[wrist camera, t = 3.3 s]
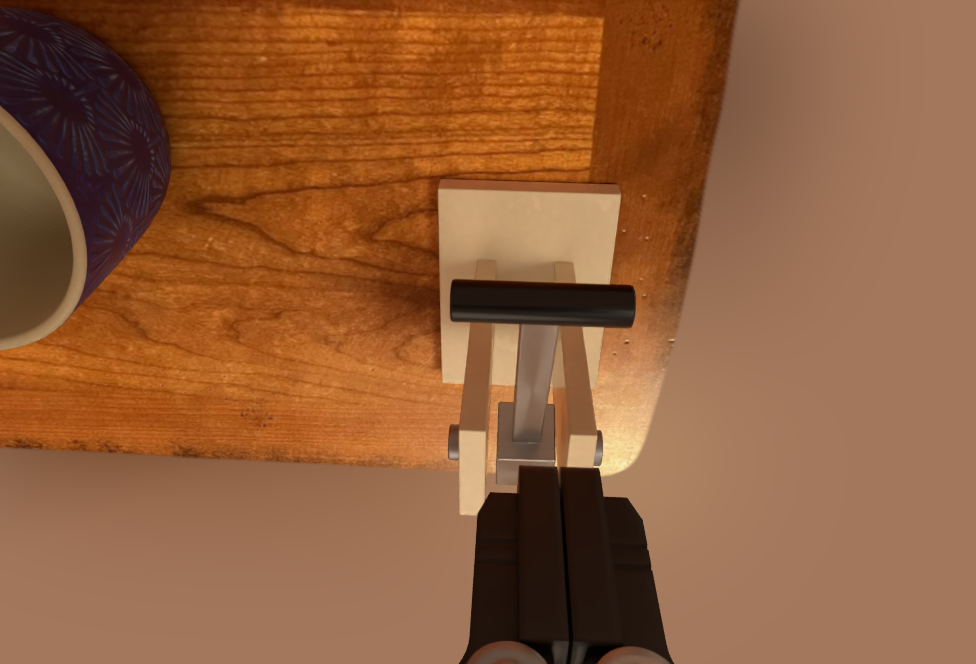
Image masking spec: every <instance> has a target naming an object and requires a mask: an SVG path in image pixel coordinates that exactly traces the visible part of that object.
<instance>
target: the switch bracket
mask: <svg viewBox="0 0 976 664" xmlns="http://www.w3.org/2000/svg"><path fill="white" fill-rule="evenodd" d="M620 201H621V193H620V190H619V187H618V185H614V184H583V183H552V182H521V181H490V180H459V179H441V180H440V183H439V187H438V227H439V275H440V322H441V370H442V383H456V384H464V386H463V395H462V404H461V414H460V423H459V425H454V424H451V425H450V428H449V439H448V458H449V460H459V514H460V515H476V516H477V515H478V512H479V510H480V509H481V507H482V505H483V504H484V502H485V494H486V475H487V458H488V440H489V422H490V404H491V386H492V385H507V386H515V376H516V363H517V349H518V335H519V324H491V323H464V322H452V321H451V319H450V288H451V282H452V280H453V279H475V280H503V281H532V282H560V283H588V284H610V278H611V270H612V262H613V255H614V247H615V239H616V232H617V224H618V216H619V209H620ZM603 331H604V328H600V327H573V326H560V329H559V335H558V341H557V348H556V354H555V360H554V366H553V372H552V378H551V384H550V387H552V389H553V404H554V405H555V436H556V452H557V468H558V473H559V468H560V467H585V468H593V466H600V465H601V462H602V456H603V438H602V433H601V431H600V430H597V429H596V421H595V414H594V407H593V400H592V392H591V389H596V385H597V377H598V370H599V362H600V354H601V347H602V339H603Z"/></svg>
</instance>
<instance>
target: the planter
mask: <svg viewBox="0 0 976 664" xmlns="http://www.w3.org/2000/svg"><path fill="white" fill-rule="evenodd" d="M170 173H171V153H170V144H169V138H168V134H167V130H166V127H165V123H164V121H163V118H162V116H161V113H160V111H159V109H158V107H157V105H156V103H155V101H154V99H153V97H152V96H151V94H150V92H149V91H148V89H147V87H146V86H145V85H144V83H143V82H142V81H141V79H140V78H139V76H138V75H137V74H136V73H135V72H134V71H133V69H132V68H131V67H130V66H129V65H128V64H127V63H126V62H125V61H124V60H123V59H122V58H121V57H120V56H119V55H118V54H117V53H116V52H114V51H113V50H112V49H111V48H110V47H108V46H107V45H106V44H104V43H103V42H102V41H100V40H99V39H97V38H96V37H94V36H93V35H91V34H89V33H88V32H86V31H85V30H83V29H81V28H79V27H77V26H75V25H73V24H71V23H69V22H67V21H64V20H62V19H59V18H57V17H54V16H51V15H48V14H44V13H41V12H37V11H32V10H26V9H21V8H13V7H0V350H7V349H12V348H17V347H21V346H24V345H27V344H30V343H33V342H36V341H38V340H40V339H42V338H44V337H46V336H47V335H49V334H50V333H52V332H53V331H55V330H56V329H58V328H59V327H60V326H61V325H62V324H63V323H64V322H65V321H66V320H67V319H68V318H69V317H70V316H71V315H72V314H73V313H74V312H75V310H76V309H77V308H78V307H79V306H80V305H81V304H82V303H83V302H84V301H85V300H86V299H87V298H88V296H89V295H90V294H91V293H92V292H93V291H94V290H95V289H96V288H97V287H98V286H99V285H100V284H101V282H102V281H103V280H104V279H105V278H106V277H107V276H108V275H109V274H110V273H111V272H112V270H113V269H114V268H115V267H116V266H117V265H118V264H119V263H120V262H121V261H122V259H123V258H124V257H125V256H126V255H127V253H128V252H129V251H130V250H131V249H132V247H133V246H134V245H135V244H136V243H137V241H138V240H139V239H140V238H141V237H142V235H143V234H144V233H145V231H146V230H147V228H148V227H149V225H150V224H151V222H152V221H153V219H154V217H155V216H156V214H157V213H158V211H159V209H160V207H161V204H162V202H163V200H164V197H165V195H166V191H167V188H168V184H169V180H170Z"/></svg>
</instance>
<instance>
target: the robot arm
mask: <svg viewBox="0 0 976 664" xmlns="http://www.w3.org/2000/svg"><path fill="white" fill-rule="evenodd" d="M477 516H478V517H477V531H476V547H475V563H474V578H473V593H472V609H471V623H470V637H469V644H468V647H467V650H466V652H465V654H464V656H463V658H462V660H461V661H460V663H459V664H674V663H673V661H672V659H671V657H670V655H669V652H668V648H667V645H666V640H665V635H664V629H663V624H662V619H661V614H660V609H659V603H658V598H657V593H656V588H655V583H654V577H653V572H652V570H651V561H650V556H649V551H648V550H647V541H646V535H645V530H644V525H643V520H642V518H641V517H640V516H639V514H638V513H637V511H636V510H635V508H634V507H633V506H632V504H631V503H630V501H629V500H628V498H621V497H603V490H602V483H601V476H600V471H599V468H585V467H560V468H559V473H558V469H557V467H555V466H530V465H519V469H518V485H517V493H494V492H490V494H489V495H488V497H487V499H486V500H485V502H484V504H483V505H482V507H481V509H480V510H479V512H478V515H477Z"/></svg>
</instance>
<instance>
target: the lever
mask: <svg viewBox="0 0 976 664" xmlns="http://www.w3.org/2000/svg"><path fill="white" fill-rule="evenodd" d="M635 310H636V296H635V290H634V287H633V286H631V285H616V284H588V283H560V282H532V281H503V280H475V279H453V280H452V282H451V288H450V319H451V321H452V322H464V323H491V324H519V335H518V349H517V363H516V376H515V390H514V403H513V402H499V406H498V432H497V458H496V484H498V485H518V469H519V465H530V466H554V465H555V461H556V458H555V405H554V404H547V402H548V396H549V390H550V384H551V378H552V372H553V366H554V360H555V354H556V348H557V341H558V335H559V329H560V326H573V327H600V328H631V327H632V325H633V322H634V318H635Z"/></svg>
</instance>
